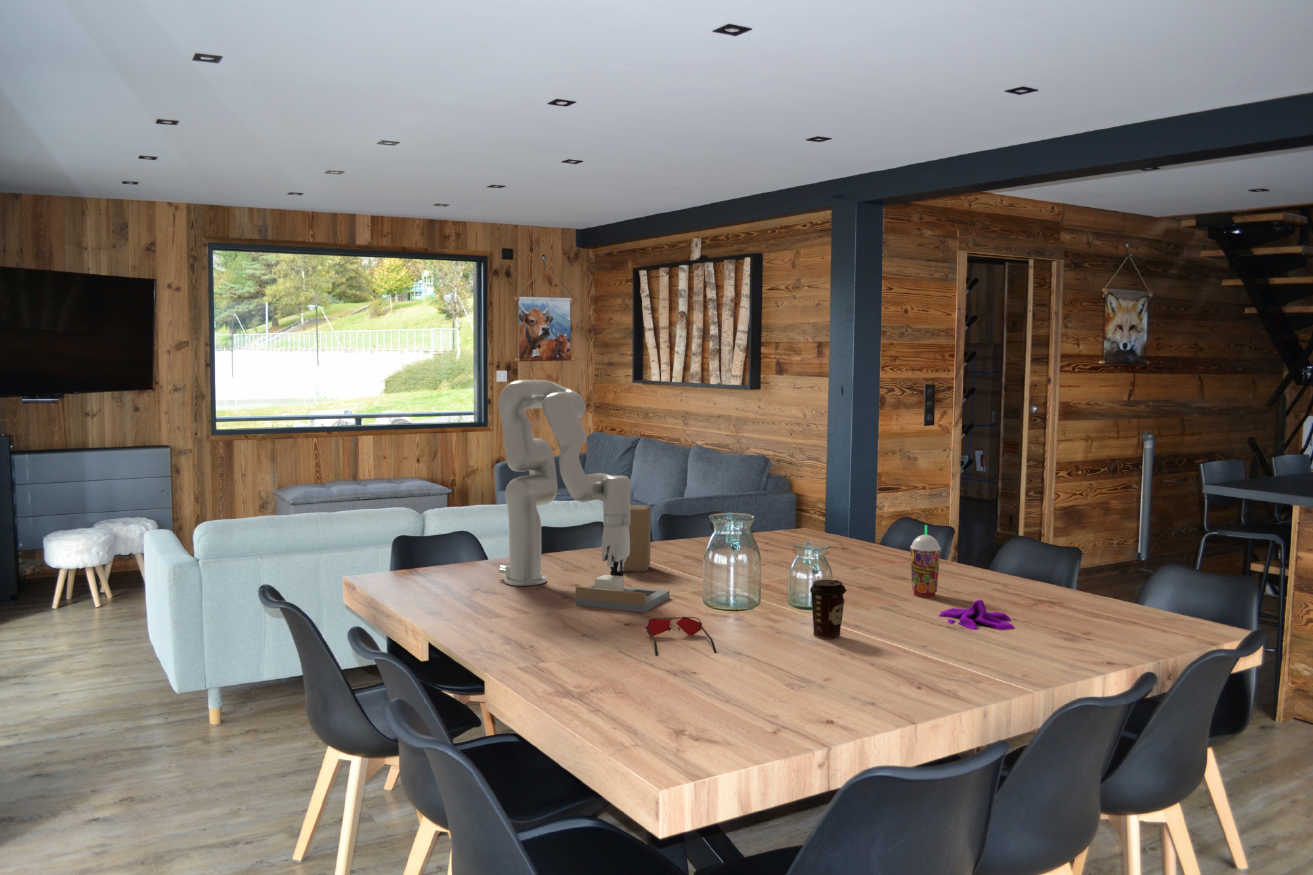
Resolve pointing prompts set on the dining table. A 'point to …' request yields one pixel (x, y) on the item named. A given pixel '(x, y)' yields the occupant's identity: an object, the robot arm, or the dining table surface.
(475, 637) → the dining table surface
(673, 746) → the dining table surface
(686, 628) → the glasses
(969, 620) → the cloth
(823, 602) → the coffee cup
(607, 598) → the board
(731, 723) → the dining table surface
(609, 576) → the cream block
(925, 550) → the smoothie
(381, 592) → the dining table surface
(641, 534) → the block
